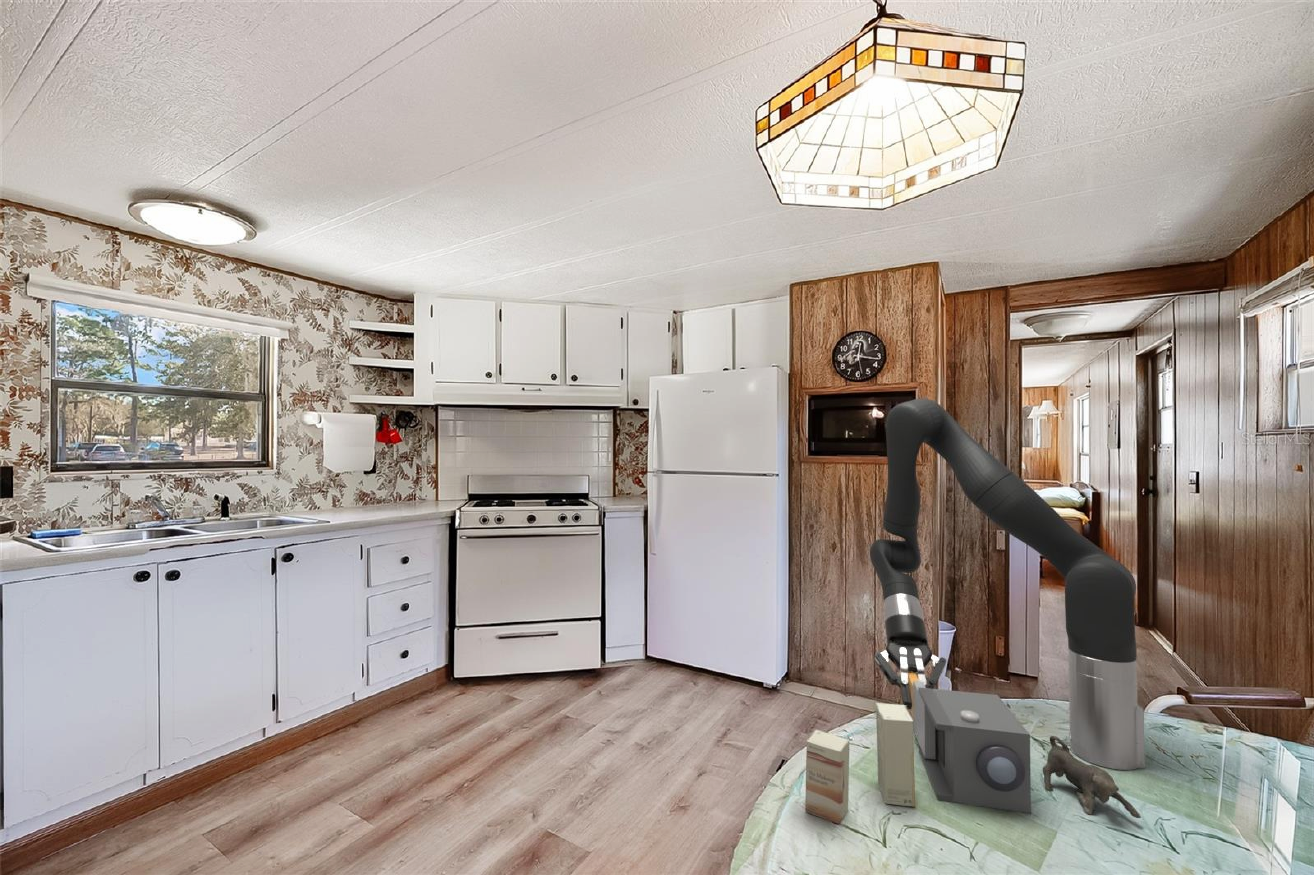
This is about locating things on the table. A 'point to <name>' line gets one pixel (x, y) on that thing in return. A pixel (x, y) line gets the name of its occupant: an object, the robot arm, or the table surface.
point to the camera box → (977, 751)
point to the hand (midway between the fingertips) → (916, 707)
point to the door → (921, 718)
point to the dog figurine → (1082, 778)
